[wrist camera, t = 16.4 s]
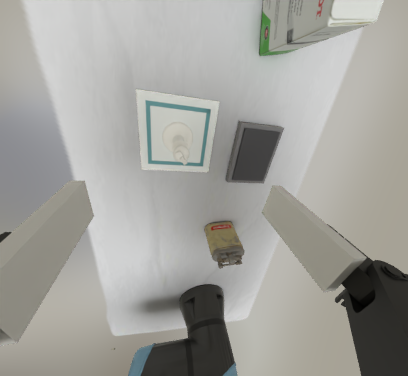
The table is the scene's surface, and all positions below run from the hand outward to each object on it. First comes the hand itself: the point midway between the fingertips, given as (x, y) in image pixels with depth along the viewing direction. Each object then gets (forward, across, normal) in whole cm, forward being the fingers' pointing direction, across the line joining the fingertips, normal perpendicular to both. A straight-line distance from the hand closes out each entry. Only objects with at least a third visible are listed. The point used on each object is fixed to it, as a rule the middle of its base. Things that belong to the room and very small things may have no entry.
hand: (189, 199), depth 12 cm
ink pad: (+18, -14, +2) cm, 22 cm away
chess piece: (+17, 0, 0) cm, 17 cm away
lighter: (+18, -11, +21) cm, 29 cm away
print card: (+18, 0, 0) cm, 18 cm away
